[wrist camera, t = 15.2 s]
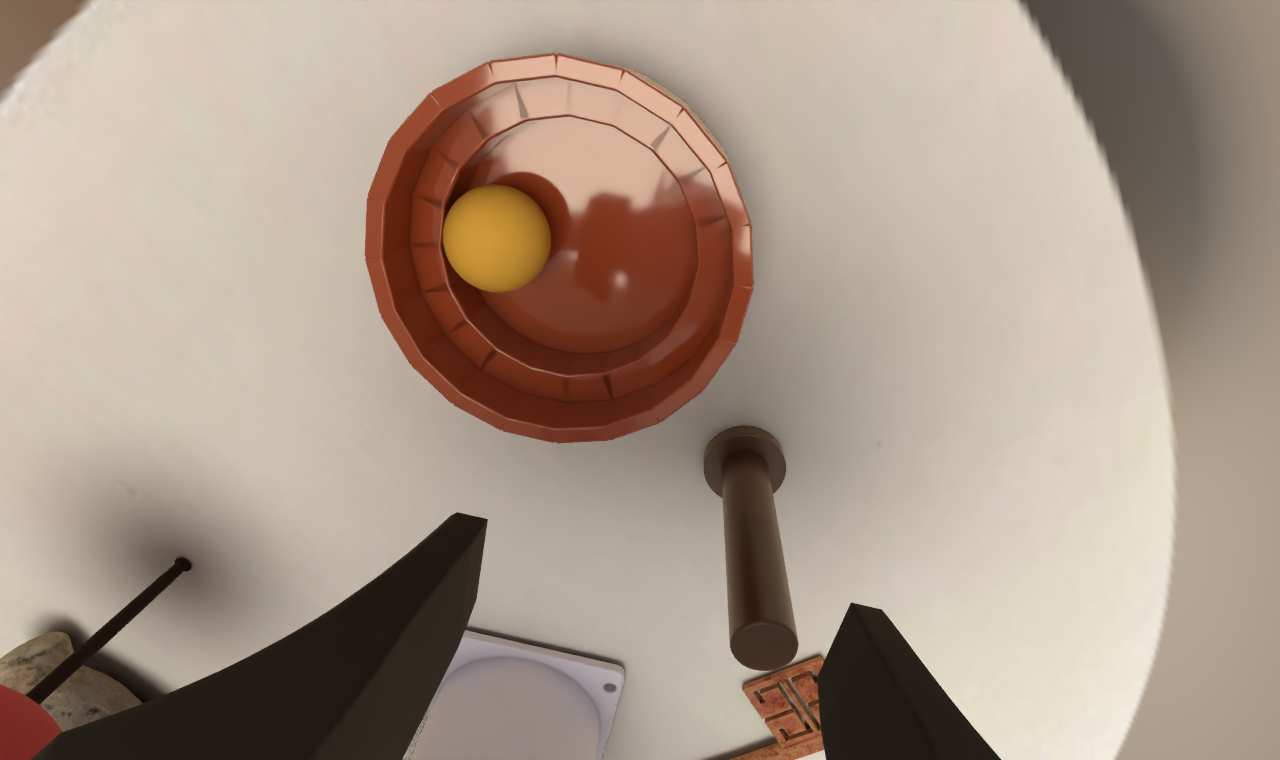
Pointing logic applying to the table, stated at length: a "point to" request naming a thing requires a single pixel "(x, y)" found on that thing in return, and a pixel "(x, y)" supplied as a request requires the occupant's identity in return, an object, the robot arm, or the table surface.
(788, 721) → the key
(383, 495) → the table surface
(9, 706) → the lollipop
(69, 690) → the stone
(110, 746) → the robot arm
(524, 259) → the ball
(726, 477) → the stick
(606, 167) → the bowl
